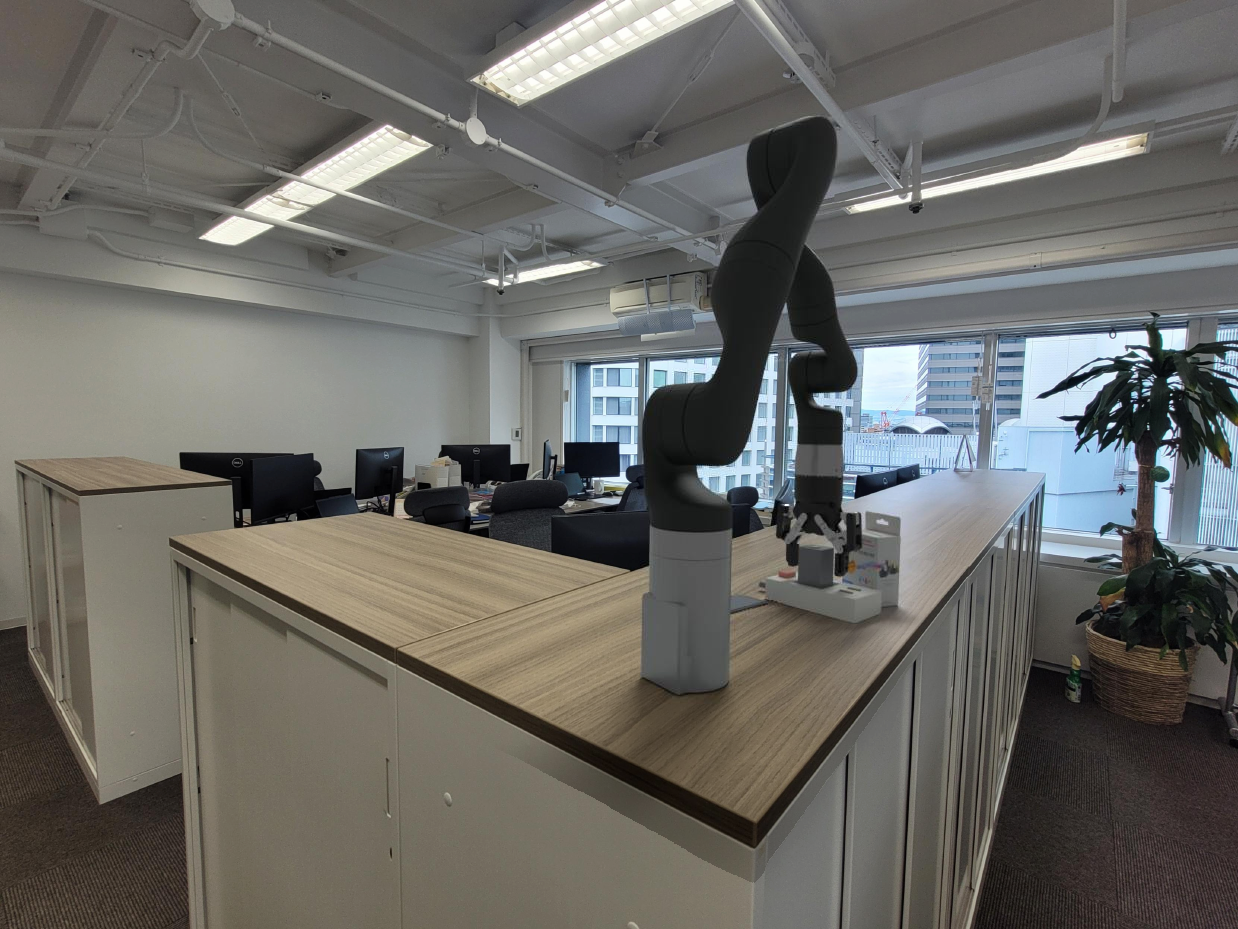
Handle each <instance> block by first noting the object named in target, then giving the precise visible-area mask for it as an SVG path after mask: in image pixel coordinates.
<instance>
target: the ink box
mask: <svg viewBox="0 0 1238 929" xmlns="http://www.w3.org/2000/svg"><path fill="white" fill-rule="evenodd" d="M864 519H865V524H864V526H865V528H863V527H862V548H861V549H860V550H855V551H851V552H850V553H849V570H848V572H847V573H845V575H844V576H841V580H842V581H841V582H843V583H848V584H853V585H857V586H862V587H866V588H871V589H875V590H880V591H882V596H881V608H885V607H894V606H898V605H899V594H900V591H899V588H900V563H901V560H900V559H901V544H902V543H901V540H902V538H901V522H902V521H901V520H902V519H901V517H900V516H895V515H891V514H885V513H879V512H872V511H868V510H867V511H865V514H864ZM882 520H883V521H884V522H887V523H888V524H883V523H878V522H877V521H882ZM843 532H844V533H845V538H846V540H847V534H846V528H844V529H843Z"/></svg>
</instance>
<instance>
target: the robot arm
mask: <svg viewBox="0 0 1238 929" xmlns="http://www.w3.org/2000/svg"><path fill="white" fill-rule="evenodd" d="M745 158H746V159H745V160H746V162H745V163H746V173H747V179H748V183H749V186H750V191H751V194H752V198H753V201H754V203H755V206H756V207H755V208H756V210H757V212H755V213H754V214H753V215H752V216H751V217H750V218H749V219H748V220H747V221H746V222H745V223H744V224H743V225H742V226H741V228H739V230H738V231H737V232H736V233H735V234H734V235H733V236H732V238H731V239H730V241H729V242H728V244H727V246H726V248H724V249H725V250H724V251H723V254H722V255H721V259H720V261H719V264H718V267H717V269H716V271H715V275H713V276H714V277H713V280H712V283H711V287H710V304H711V309H712V312H713V316H714V318H715V321H716V324H717V326H718V329H719V331H720V334H721V337H722V341H723V342H722V343H723V346H722V351H721V354H720V358H719V361H718V364H717V366H716V369H715V371H714V373H713V375H712V376H711V377H710V378H709V380H708V381H701V382H700V381H699V382H687V383H673V384H666V385H662V386H659V387H658V388H656V389H655V390H653V392H651V394H650V396H649V398H648V400H647V402H646V403H645V407H644V410H643V416H642V424H641V425H642V427H641V442H642V443H641V445H642V462H643V463H642V467H643V492H644V498H645V503H646V505H647V508H648V510H649V554H648V555H649V564H648V570H649V572H648V592H645V593H643V594H642V598H641V645H640V646H641V649H640V650H641V651H640V652H641V657H640V658H641V659H640V664H641V665H640V667H641V668H640V676H641V677H642V678H644V679H646V680H648V681H650V682H652V683H654V684H656V685H657V686H660V687H662V688H664V689H666V690H667V691H670V693H673V694H675V695H677V696H678V695H679V696H680V695H683V694H688V693H706V692H712V691H715V690H718V689H721V688H723V687H724V686H726V685H727V684H728V682H729V681H730V656H731V651H730V650H731V614H730V611H731V596H732V595H731V594H732V558H733V557H732V556H733V554H732V553H733V552H732V551H733V518H734V516H733V507H732V503H731V502H730V501H728V500H727V499H726V498H724V497H722V496H721V495H719V494H717V493H715V492H714V491H712V490H711V489H709V488H708V487H707V486H706V485H705V484H704V483H703V482H702V481H701V479H700V477H699V474H698V467H725V466H730V465H731V464H733V463H735V462H736V461H737V460H738V459H739V458H740V457H741V455H742V454H743V452H744V451H745V449H746V446H747V443H748V441H749V438H750V435H751V432H752V428H753V425H754V422H755V421H754V420H755V416H756V412H757V406H758V401H759V397H760V392H761V387H762V383H763V380H764V375H765V370H766V366H767V363H768V358H769V354H770V351H771V347H772V345H773V341H774V337H775V334H776V331H777V328H778V325H779V322H780V319H781V316H782V313H783V311H784V308H785V305H786V310H787V315H788V320H789V325H790V331H791V334H792V337H793V338H794V339H795V340H797V341H798V342H802V343H808V344H812V345H813V344H814V345H817V346H818V347H820V348H821V349H815V350H803V351H799V352H796V353H795V354H794V355H793V356H792V357H791V359H790V360H789V362H788V366H787V378H788V379H787V380H788V383H789V384H788V385H789V388H790V391H791V393H792V398H793V402H794V407H795V408H794V409H795V412H796V418H797V435H796V439H797V440H796V451H795V457H794V480H793V481H794V482H793V483H794V484H793V485H794V487H793V498H794V501H795V502H794V505H792V504H791V503H785V504H784V503H782V504H779V505H778V506H777V515H776V527H775V528H776V529H775V537H776V539H778V540H782V541H784V543H785V561H786V563H787V565H788V567H793V568H794V567H798V555H799V547H800V544H799V542H800V540H801V539H802V537H803V536H804V535H806V534H807V535H810V534H814V535H817V536H820V537H821V536H822V537H823V536H824V537H825V538H826V539H827V541H828V542H830V543H831V545H832V546H833V548H834V550H835V551H836V552H834V565H833V576H834V577H837V578H838V577H839V578H842V576H844V575H845V573H847V572H848V570H849V553H850V552H851V551H855V550H860V549H861V548H862V528H863V525H862V520H863V519H862V513H861V512H859V511H851V512H847V511H844V510H843V509H842V508H843V507H842V504H843V498H844V473H845V467H844V466H845V458H844V450H843V449H844V447H843V444H844V443H843V442H844V440H843V439H844V415H843V412H842V411H841V410H839V409H837V408H833V407H827V406H826V407H825V406H822V405H819V404H818V403H817V402H816V400H815V398H814V394H831V393H832V394H834V393H835V394H836V393H845V392H847V391H849V390H850V389H852V388H853V386H854V384H856V382H857V378H858V372H859V370H858V362H857V358H856V357H855V354H854V351H853V350H852V348H851V346H850V344H849V342H848V340H847V338H846V336H845V333H844V331H843V329H842V326H841V324H840V321H839V316H838V310H837V309H838V308H837V302H836V295H835V288H834V282H833V279H832V276H831V274H830V272H829V270H828V268H827V267H826V265H825V263H824V262H822V260H821V258H819V256H818V255H817V254H816V253H815V252H814V251H813V250H812V248H811V247H810V246H809V245H808V244H807V242H806V241H807V238H808V235H809V233H810V230H811V228H812V225H813V223H814V221H815V218H816V217H817V214H818V213H819V210H820V207H821V205H822V204H823V201H824V199H825V198H826V195H827V193H828V191H829V188H830V187H831V184H832V182H833V178H834V175H835V174H836V169H837V163H838V158H839V137H838V133H837V129H836V127H835V125H834V123H833V122H832V121H831V119H829V118H828V117H826V116H823V115H821V114H820V115H809V116H805V117H801V118H797V119H795V120H792V121H790V122H787V123H784V124H781V125H778V126H775V127H772V128H769V129H767V130H764V131H761V132H759V133H757V134H755V135H754V136H753V137H752V139H751V140H750V142H749V144H748V148H747V151H746V157H745ZM697 466H698V467H697ZM793 516H794V517H795V519H796V521H795V523H794V524H793V525H792V518H793ZM842 521H843V524H844V525H845V526H846V528H845V529H846V534H847V540H846V538H845V533H844V529H843V528H842V527H841V525H840V523H841V522H842Z"/></svg>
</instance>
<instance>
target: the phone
mask: <svg viewBox="0 0 1238 929" xmlns="http://www.w3.org/2000/svg"><path fill="white" fill-rule="evenodd" d="M736 595H737V596H733V595H731V611H730V615H733V614H736V613H735V612H737V613H739V612H738V611H741V612H743V611H742V610H745V611H747V610H746V609H748V610H751V609H750V608H752V609H754V608H753V607H756V608H758V607H757V606H759V607H762V606H761V605H763V604H767V605H769V602H768V601H765V600H761V599H758V598H756V597H752V596H749V595H745V596H742V595H743V594H742V595H738V594H736ZM732 596H733V597H732ZM763 606H764V605H763ZM732 613H733V614H732Z"/></svg>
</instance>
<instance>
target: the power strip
mask: <svg viewBox="0 0 1238 929" xmlns="http://www.w3.org/2000/svg"><path fill="white" fill-rule="evenodd" d="M758 587H759V588H761V589H765V591H764V595H765V596H764V598H768V599H770V600H769V601H771V600H774V601H773V602H775V601H777V602H776V603H779V604H782V603H783V604H782V605H787V606H790V607H794V608H797V609H801V610H804V611H807V612H812V613H816V614H819V615H823V616H825V617H830V618H832V619H837V620H839V621H844V622H847V623H851V624H857V623H860V622H863V621H865V620H867V619H870V618H871V619H872V618H873V617H875V616H878V615H880V614H882V607H881V596H882V591H880V590H875V589H871V588H866V587H862V586H857V585H853V584H848V583H843V582H842V581H839V580H835V579H833V586H831V587H828V588H824V589H819V588H814V587H810V586H806V585H802V584H798V571H794V570H790V569H784V570H779V571H778V574H776V575H773V576H768V577H765V582H764V581H760V582H758ZM768 599H767V600H768Z"/></svg>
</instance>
